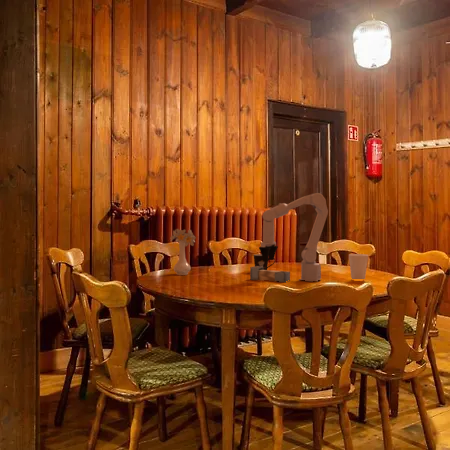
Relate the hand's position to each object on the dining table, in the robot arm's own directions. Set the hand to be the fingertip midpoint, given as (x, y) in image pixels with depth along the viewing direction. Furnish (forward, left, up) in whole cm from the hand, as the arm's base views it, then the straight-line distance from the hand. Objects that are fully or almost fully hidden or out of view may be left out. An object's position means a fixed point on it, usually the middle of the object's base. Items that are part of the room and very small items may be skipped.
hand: (268, 260), depth 241 cm
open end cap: (-8, 0, -10) cm, 12 cm away
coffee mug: (+14, -25, -10) cm, 31 cm away
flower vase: (+49, +4, -10) cm, 50 cm away
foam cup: (-40, -21, -10) cm, 46 cm away
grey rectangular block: (+6, 0, -10) cm, 12 cm away
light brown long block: (0, 0, -10) cm, 10 cm away
